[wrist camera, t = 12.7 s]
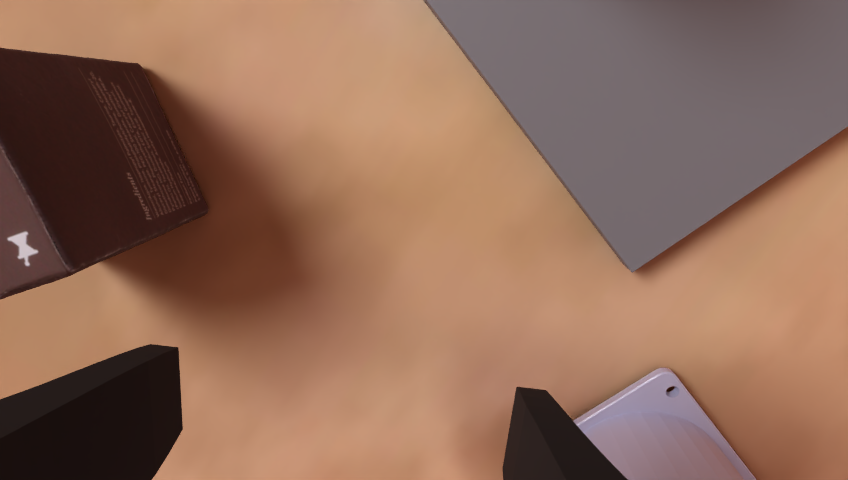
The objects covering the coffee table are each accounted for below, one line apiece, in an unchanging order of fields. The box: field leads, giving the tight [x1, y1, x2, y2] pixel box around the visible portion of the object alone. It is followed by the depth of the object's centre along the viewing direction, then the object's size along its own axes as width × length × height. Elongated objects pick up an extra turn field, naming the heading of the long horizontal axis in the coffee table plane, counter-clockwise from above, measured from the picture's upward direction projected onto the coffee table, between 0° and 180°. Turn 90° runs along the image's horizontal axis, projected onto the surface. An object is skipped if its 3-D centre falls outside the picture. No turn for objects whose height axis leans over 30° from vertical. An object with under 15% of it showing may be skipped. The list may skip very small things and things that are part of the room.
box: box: [0, 48, 208, 299], centre depth 15 cm, size 6×6×7 cm
